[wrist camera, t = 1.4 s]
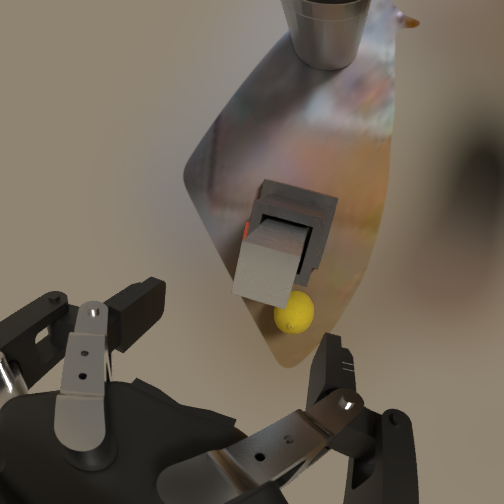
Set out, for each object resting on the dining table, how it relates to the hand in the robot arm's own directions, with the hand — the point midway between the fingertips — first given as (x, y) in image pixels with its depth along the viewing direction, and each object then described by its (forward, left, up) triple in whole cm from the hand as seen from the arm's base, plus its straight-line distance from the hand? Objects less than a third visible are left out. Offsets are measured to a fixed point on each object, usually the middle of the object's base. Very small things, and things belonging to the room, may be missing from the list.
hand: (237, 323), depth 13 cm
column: (0, 0, -25) cm, 25 cm away
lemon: (+11, +4, -27) cm, 30 cm away
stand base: (0, 0, -27) cm, 27 cm away
